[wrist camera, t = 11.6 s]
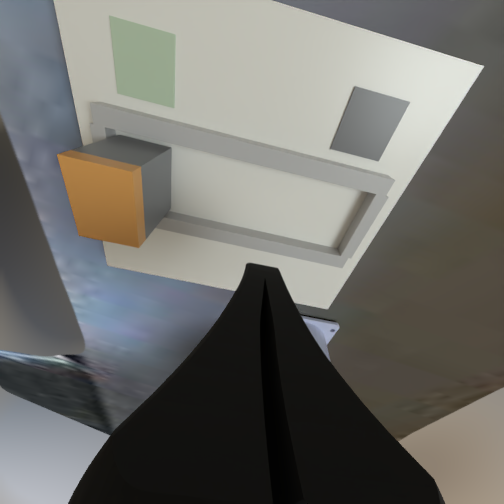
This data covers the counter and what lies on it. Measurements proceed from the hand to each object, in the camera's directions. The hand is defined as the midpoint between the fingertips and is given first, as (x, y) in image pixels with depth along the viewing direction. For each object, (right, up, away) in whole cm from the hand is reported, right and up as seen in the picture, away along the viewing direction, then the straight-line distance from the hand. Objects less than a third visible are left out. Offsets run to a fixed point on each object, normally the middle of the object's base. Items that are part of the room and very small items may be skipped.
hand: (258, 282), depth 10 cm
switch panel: (-1, +6, +7) cm, 9 cm away
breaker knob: (-7, +6, +5) cm, 10 cm away
